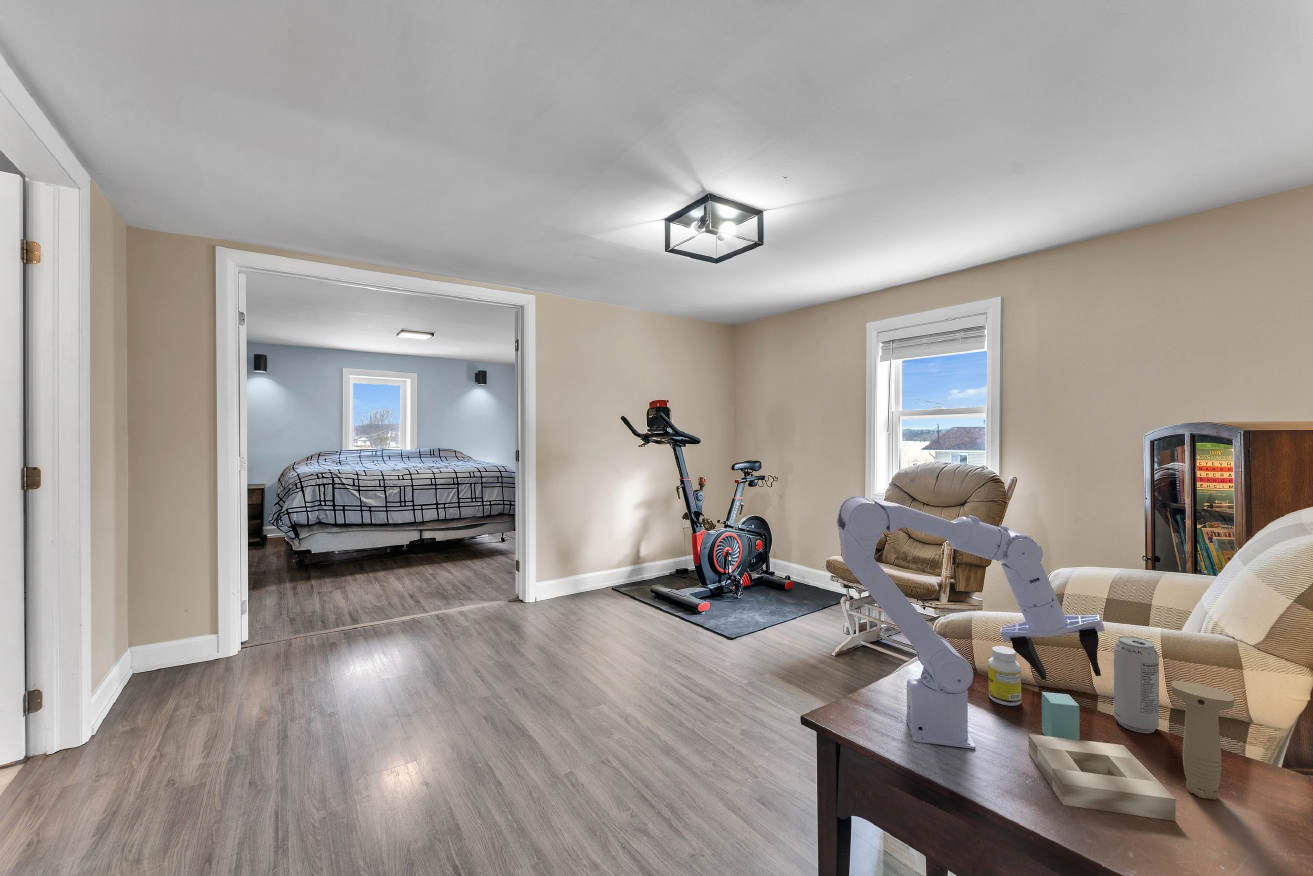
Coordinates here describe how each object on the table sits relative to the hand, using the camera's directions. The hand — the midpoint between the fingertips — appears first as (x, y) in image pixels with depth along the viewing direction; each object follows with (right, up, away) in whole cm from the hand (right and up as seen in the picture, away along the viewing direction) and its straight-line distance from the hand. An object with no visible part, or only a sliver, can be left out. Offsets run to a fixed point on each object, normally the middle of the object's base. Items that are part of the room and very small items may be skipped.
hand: (1070, 674), depth 93 cm
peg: (-1, -11, +1) cm, 12 cm away
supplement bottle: (-2, -11, +15) cm, 19 cm away
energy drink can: (+15, -11, +5) cm, 20 cm away
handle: (+9, -12, -13) cm, 20 cm away
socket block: (-4, -12, -10) cm, 16 cm away
